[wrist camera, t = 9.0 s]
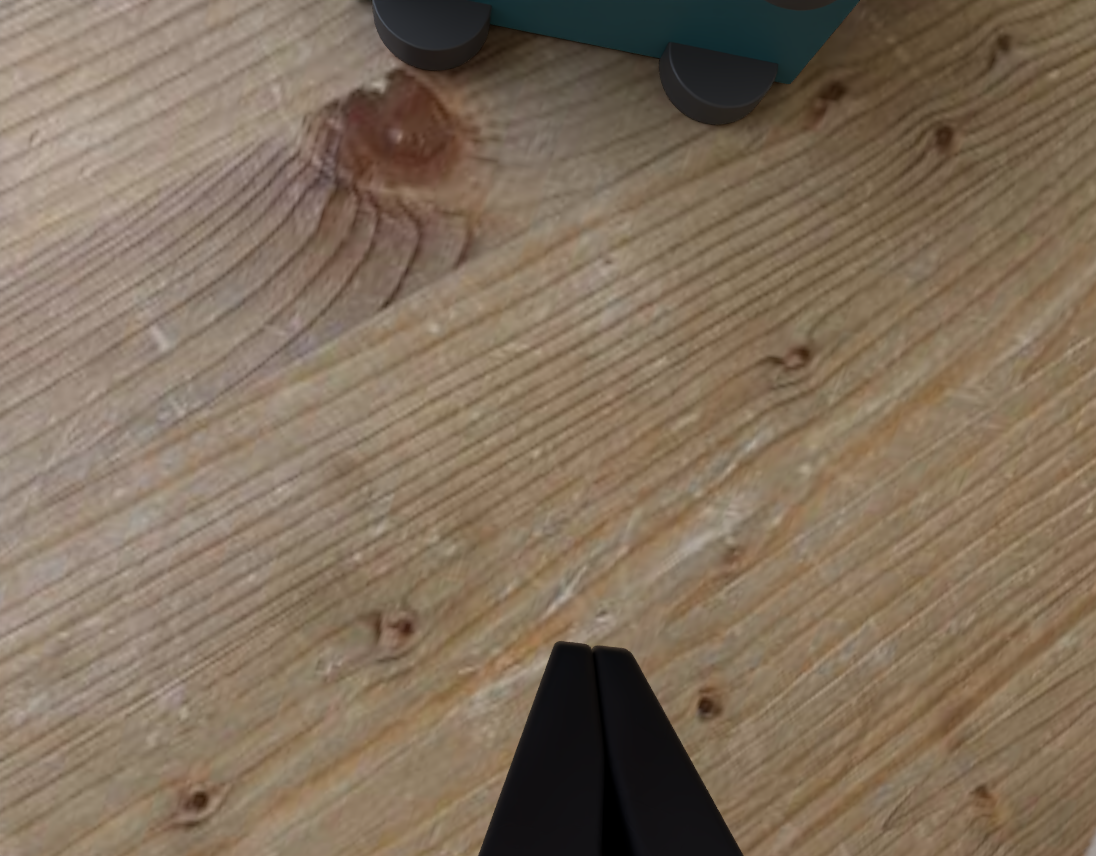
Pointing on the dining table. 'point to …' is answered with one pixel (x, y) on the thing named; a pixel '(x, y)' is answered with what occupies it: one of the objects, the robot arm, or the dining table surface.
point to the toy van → (636, 39)
